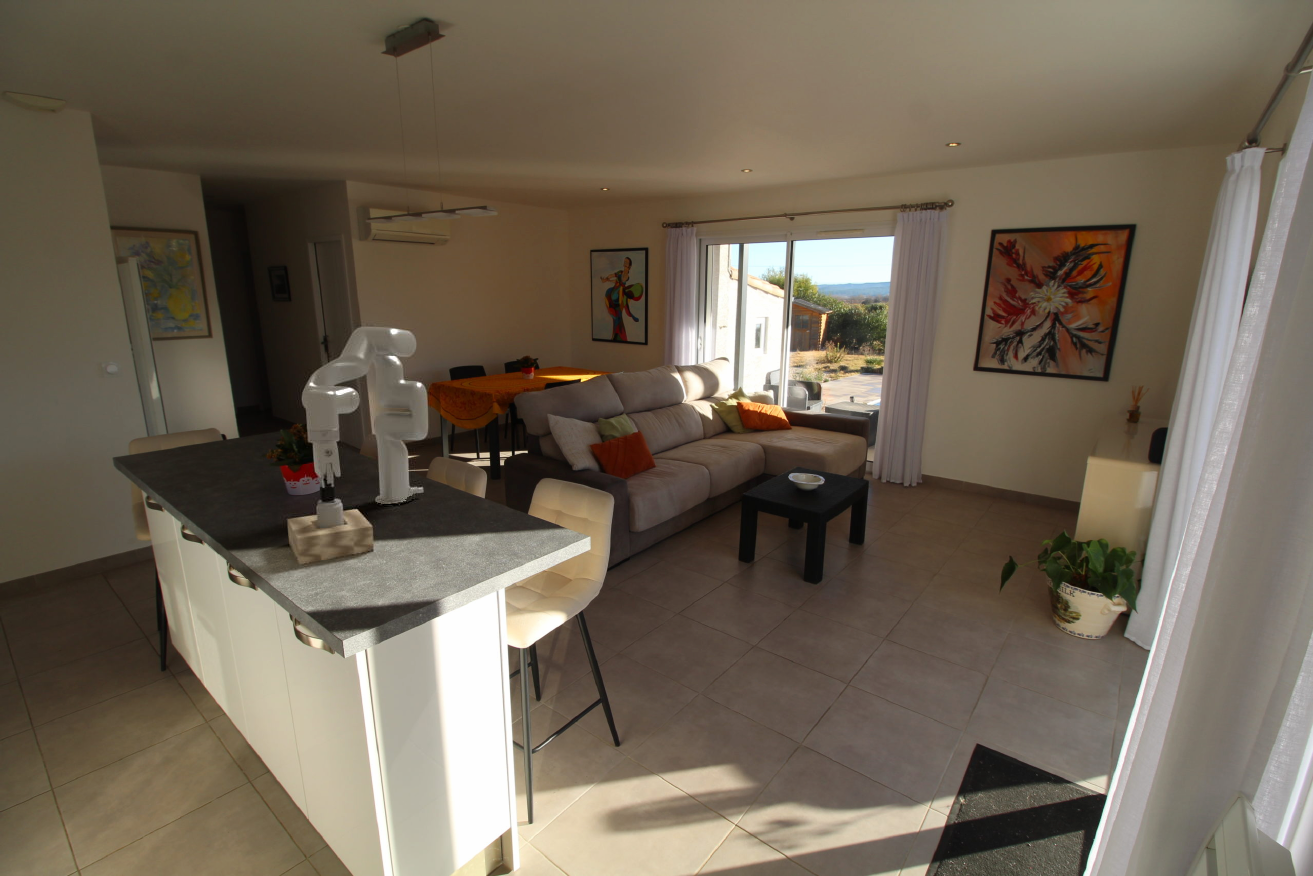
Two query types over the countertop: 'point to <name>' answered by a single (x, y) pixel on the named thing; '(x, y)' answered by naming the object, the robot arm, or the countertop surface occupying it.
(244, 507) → the countertop surface
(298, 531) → the holder block
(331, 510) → the beverage can
